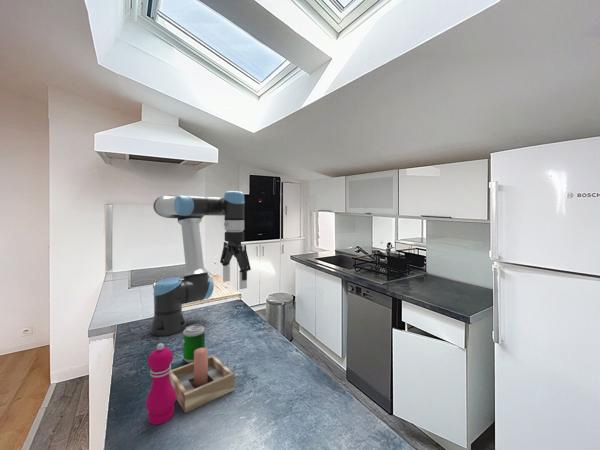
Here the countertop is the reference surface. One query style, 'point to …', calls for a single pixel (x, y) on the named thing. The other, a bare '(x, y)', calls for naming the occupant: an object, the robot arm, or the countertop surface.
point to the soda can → (192, 341)
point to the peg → (200, 367)
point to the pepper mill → (160, 386)
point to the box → (193, 398)
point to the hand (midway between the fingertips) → (234, 284)
